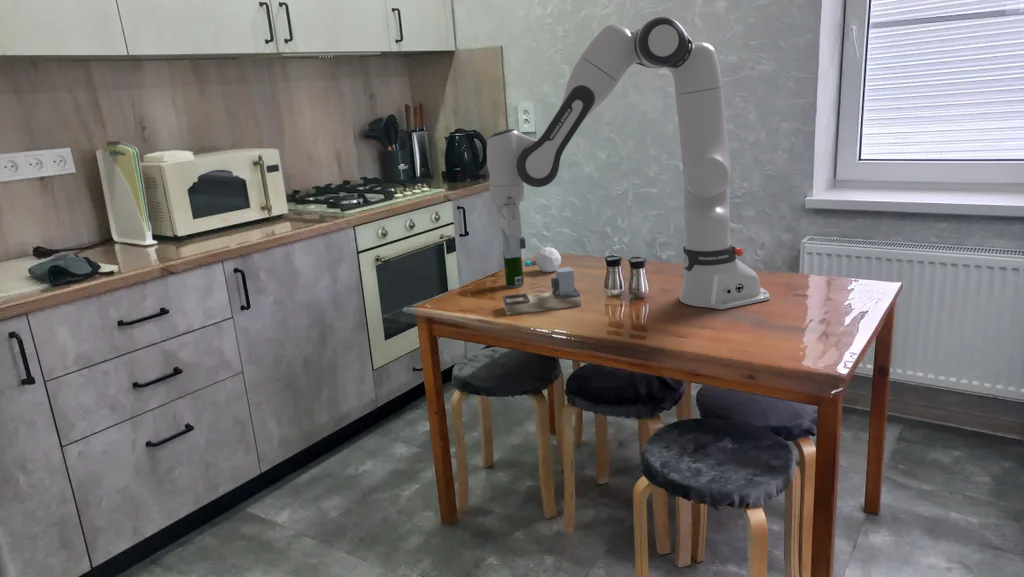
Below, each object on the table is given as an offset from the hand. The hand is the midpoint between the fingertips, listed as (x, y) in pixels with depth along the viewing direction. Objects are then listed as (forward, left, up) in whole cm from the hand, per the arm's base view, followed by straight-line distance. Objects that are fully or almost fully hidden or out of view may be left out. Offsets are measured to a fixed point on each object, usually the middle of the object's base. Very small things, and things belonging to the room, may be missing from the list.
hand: (511, 247), depth 184 cm
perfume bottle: (-14, -35, -18) cm, 41 cm away
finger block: (0, 0, -2) cm, 2 cm away
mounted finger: (-14, 0, -15) cm, 20 cm away
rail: (-7, 0, -17) cm, 18 cm away
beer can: (-3, -23, -17) cm, 29 cm away
